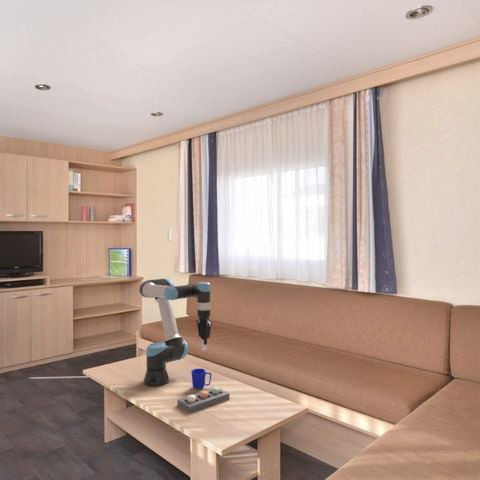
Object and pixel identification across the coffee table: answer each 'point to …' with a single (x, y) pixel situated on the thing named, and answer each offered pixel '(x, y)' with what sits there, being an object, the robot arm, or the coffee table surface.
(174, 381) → the coffee table surface
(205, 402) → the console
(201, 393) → the button terracotta
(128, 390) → the coffee table surface
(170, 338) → the robot arm
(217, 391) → the button sage
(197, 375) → the mug
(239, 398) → the coffee table surface
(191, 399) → the button ivory
